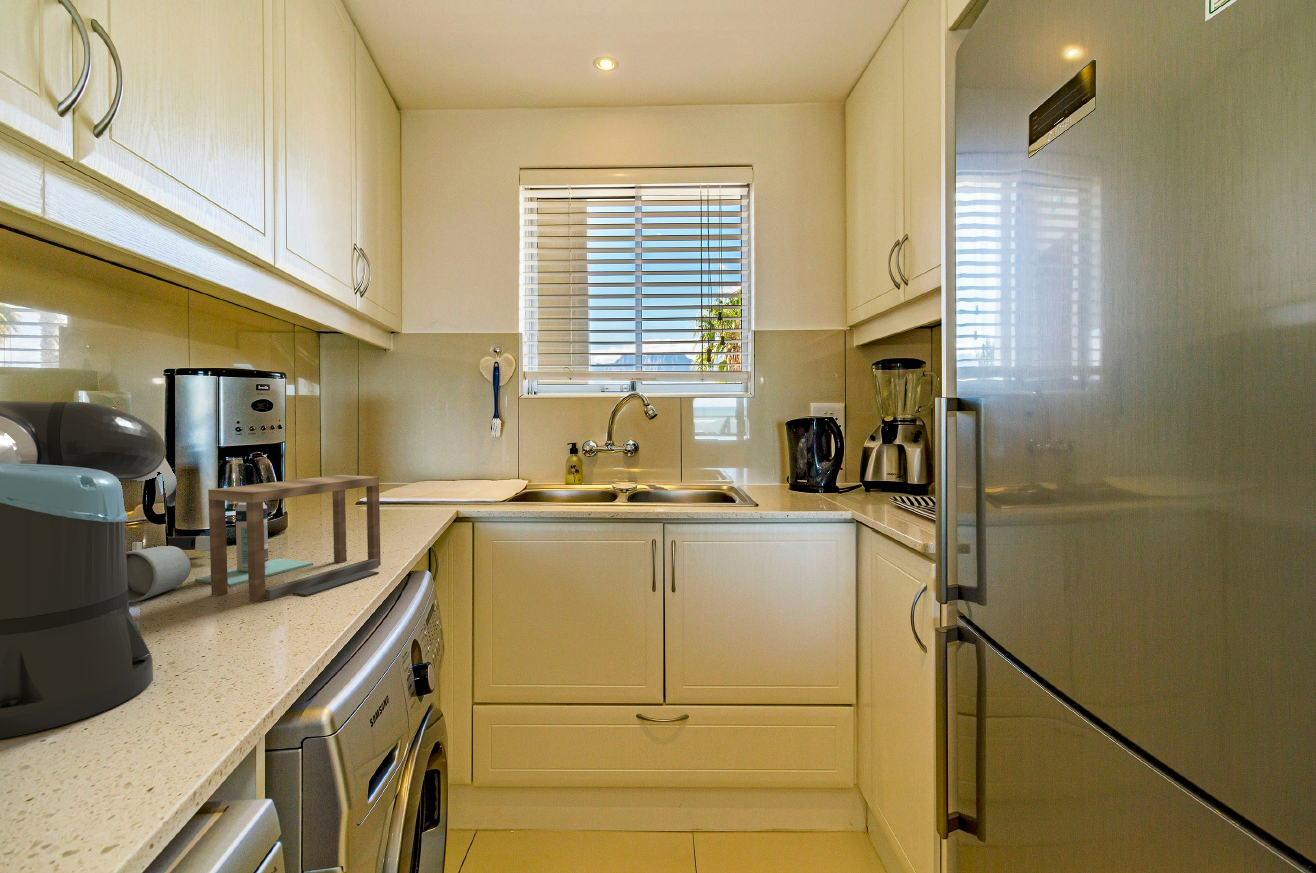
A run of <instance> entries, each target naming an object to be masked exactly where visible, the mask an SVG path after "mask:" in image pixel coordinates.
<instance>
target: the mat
mask: <svg viewBox="0 0 1316 873" xmlns="http://www.w3.org/2000/svg"><path fill="white" fill-rule="evenodd" d="M268 564H269V566H268V567H266V568H265V578H268V577H273V576H276V575H279V574H284V573H287V572H291V571H295V570H298V569H302V568H306V567H309V566H313V565H314V562H312V561H303V560H296V559H287V558H275V559H272V560H268ZM227 577H228V587H234V586H238V585H241V584H245V583H249V581H248V572H241V571H239V570H237V568H233V569H229V570H227ZM194 581H195V582H199V583H204V584H205V583H206V584H211V574H209V575H204V576H200V577H196V578H194Z"/></svg>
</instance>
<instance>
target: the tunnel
mask: <svg viewBox="0 0 1316 873" xmlns="http://www.w3.org/2000/svg"><path fill="white" fill-rule="evenodd" d="M365 487H366V488H365ZM360 488H365V490H366V492H365V493H366V530H367V532H366V535H367V559H366V560H362V561H357V562H356V563H351V564H347V565H344V566H341V567H336V568H334V569H330V570H326V571H323V572H319V573H316V574H313V575H310V576H305V577H302V578H298V579H294V580H292V581H288V582H285V583H281V584H277V585H274V586H270V587H267V588H266V577H265V555H264V520H263V501H264V502H268V501H274V500H275V501H277V500H282V499H289V498H296V497H302V496H303V497H304V496H310V495H317V494H324V493H331V492H332V525H333V527H332V529H333V530H332V531H333V533H332V534H333V562H334V563H339V564H340V563H344V562H347V561H348V560H347V556H348V555H347V521H346V520H347V519H346V518H347V517H346V514H347V513H346V490H351V489H352V490H353V489H360ZM207 490H208V491H207V494H208V522H209V523H208V524H209V525H208V526H209V536H210V551H209V552H210V553H209V554H210V555H209V559H210V575H211V583H210V586H211V587H210V588H211V590H210V591H211V596H215V597H220V596H224V595H227V594H229V586H228V577H227V571H228V553H227V548H228V547H227V516H226V515H227V514H226V501H227V502H238V503H242V502H246V513H247V547H248V581H249V582H248V602H249V603H250V602H251V603H260V602H262V601H265V600H267V601H273V600H276V599H279V598H282V597H286V596H289V595H293V592H296V591H299V590H303V589H306V588H309V587H313V586H316V585H319V584H323V583H326V582H329V581H332V580H336V579H339V578H342V577H346V576H349V575H352V574H356V573H359V572H362V571H365V570H367V571H372V570H374V569H378V568H379V566H381V563H382V562H381V520H380V519H381V518H380V517H381V516H380V514H381V513H380V512H381V510H380V477H379V476H373V475H372V476H369V475H352V474H351V475H350V474H348V475H347V474H334V475H325V476H317V477H309V478H298V479H291V480H282V481H274V482H265V483H264V482H263V483H255V484H247V485H237V486H229V487H228V486H227V487H222V488H221V487H220V488H211V489H207Z"/></svg>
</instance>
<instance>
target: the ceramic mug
mask: <svg viewBox="0 0 1316 873" xmlns="http://www.w3.org/2000/svg"><path fill="white" fill-rule="evenodd" d="M126 559H127V583H128V603H138V602H142V601H143V600H147V599H149V598H153V597H154V596H157V595H160V594H162V593H165V592H169V591H171V590H173V589H175V588H177V587H179V586H180V585H182V584H183V583H184V582H185V581H187V579H188V577H189V576H190V574H191V570H192V563H191V559H190V557H189V555H188V554H187V553H186V552H185V550H182V549H180V548H178V547H174V546H157V547H154V546H153V547H151V548H146V549H140V550H133V551H128V552H126Z"/></svg>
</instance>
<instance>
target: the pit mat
mask: <svg viewBox="0 0 1316 873" xmlns="http://www.w3.org/2000/svg"><path fill="white" fill-rule="evenodd" d="M379 574H380V573H379V571H374V570H368V571H367V570H365V571H362V572H359V573H356V574H352V575H349V576H346V577H342V578H339V579H336V580H332V581H329V582H326V583H323V584H319V585H316V586H313V587H309V588H306V589H303V590H299V591H296V592H293V593H292V595H295V596H302V597H307V598H308V597H309V596H313V595H315V594H318V593H322V592H326V591H328V590H332V589H334V588H338V587H340V586H341V587H342V586H344V585H347V584H350V583H354V582H357V581H359V580H363V579H365V578H369V577H372V576H376V575H379ZM325 590H326V591H325Z"/></svg>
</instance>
